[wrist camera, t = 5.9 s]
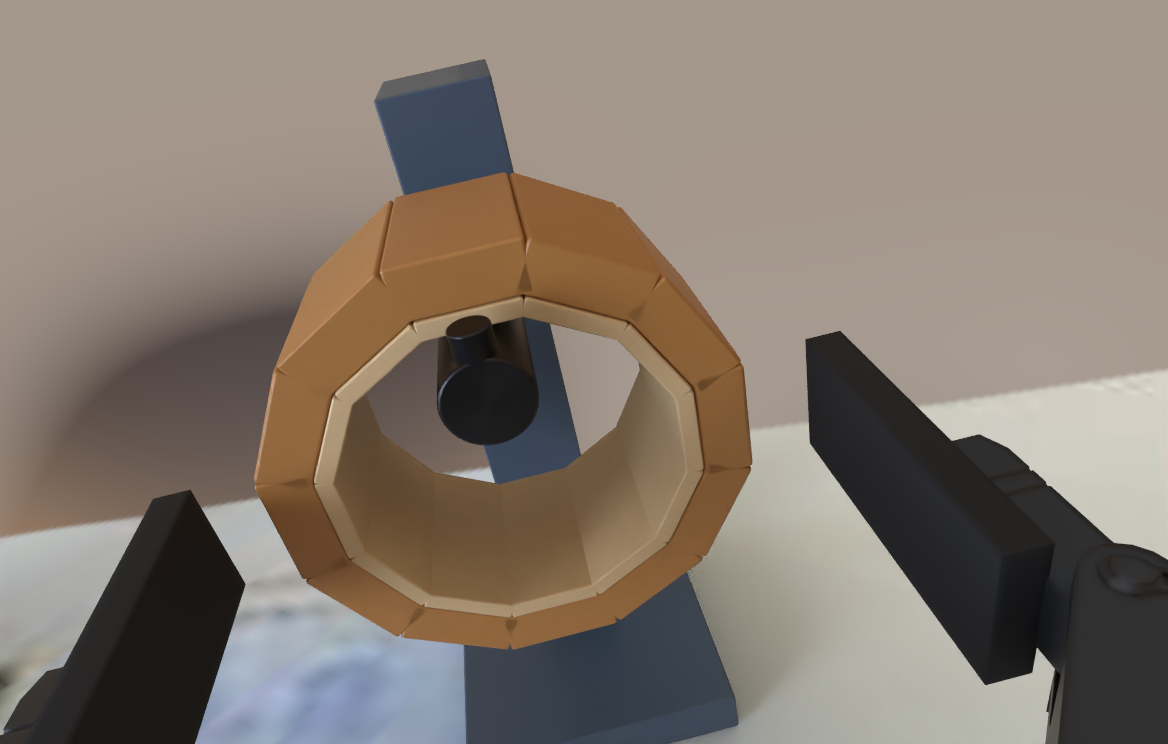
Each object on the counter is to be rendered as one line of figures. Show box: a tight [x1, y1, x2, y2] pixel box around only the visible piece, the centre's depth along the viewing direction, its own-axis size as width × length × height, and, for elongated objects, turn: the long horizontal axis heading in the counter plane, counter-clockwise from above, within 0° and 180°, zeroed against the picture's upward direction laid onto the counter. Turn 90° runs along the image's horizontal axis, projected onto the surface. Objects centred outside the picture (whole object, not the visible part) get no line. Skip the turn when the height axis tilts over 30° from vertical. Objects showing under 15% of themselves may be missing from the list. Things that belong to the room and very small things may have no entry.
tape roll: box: [254, 172, 752, 650], centre depth 18 cm, size 10×5×10 cm, turn 99°
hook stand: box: [375, 59, 738, 744], centre depth 22 cm, size 9×13×21 cm
